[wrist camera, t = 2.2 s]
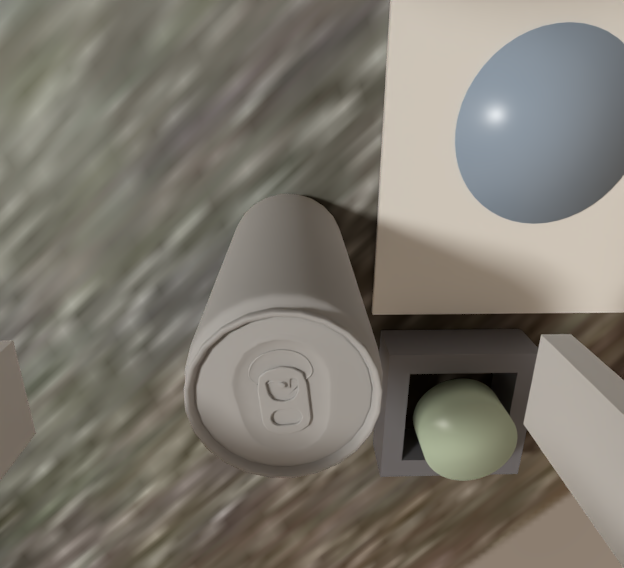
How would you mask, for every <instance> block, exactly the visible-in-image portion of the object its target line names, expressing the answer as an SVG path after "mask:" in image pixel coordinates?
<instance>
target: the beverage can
mask: <svg viewBox="0 0 624 568" xmlns="http://www.w3.org/2000/svg"><path fill="white" fill-rule="evenodd" d="M382 376H383V371H382V366H381V361H380V356H379V351H378V347H377V344H376V341H375V338H374V334H373V331H372V328H371V325H370V322H369V319H368V316H367V313H366V310H365V306H364V303H363V300H362V297H361V294H360V291H359V288H358V285H357V282H356V278H355V275H354V272H353V269H352V266H351V263H350V260H349V257H348V254H347V250H346V247H345V244H344V241H343V238H342V235H341V232H340V229H339V227H338V225H337V223H336V221H335V219H334V217H333V216H332V215H331V214H330V213H329V211H328V210H327V209H326V208H325V207H324V206H323V205H321V204H319V203H318V202H316V201H314V200H313V199H311V198H308V197H305V196H301V195H298V194H278V195H274V196H270V197H267V198H265V199H263V200H261V201H259V202H258V203H256V204H254V205H253V206H252V207H251V208H250V209H249V210H248V211H247V212H246V213H245V214H244V216H243V217H242V219H241V221H240V222H239V224H238V226H237V228H236V231H235V233H234V236H233V239H232V241H231V244H230V246H229V249H228V251H227V254H226V256H225V259H224V262H223V264H222V267H221V269H220V272H219V274H218V277H217V279H216V282H215V285H214V287H213V290H212V292H211V295H210V297H209V300H208V302H207V305H206V308H205V310H204V313H203V315H202V318H201V320H200V323H199V325H198V328H197V331H196V333H195V336H194V338H193V341H192V343H191V346H190V350H189V355H188V359H187V363H186V367H185V385H184V399H185V411H186V414H187V416H188V419H189V421H190V424H191V426H192V429H193V431H194V433H195V434H196V435H197V436H198V438H199V439H200V440H201V442H202V443H203V444H204V445H205V447H206V448H207V449H208V450H209V451H210V452H212V453H213V454H214V455H216V456H217V457H218V458H220V459H221V460H222V461H224V462H225V463H227V464H229V465H231V466H233V467H236V468H238V469H240V470H242V471H245V472H247V473H251V474H256V475H261V476H266V477H270V478H295V477H300V476H305V475H310V474H314V473H319V472H321V471H323V470H325V469H328V468H330V467H332V466H335V465H337V464H339V463H341V462H342V461H343V460H345V459H346V458H347V457H349V456H350V455H351V454H353V453H354V452H355V451H357V450H358V449H359V447H360V446H361V445H362V444H363V443H364V441H365V440H366V439H367V438H368V436H369V435H370V434H371V433H372V431H373V428H374V426H375V424H376V421H377V419H378V417H379V414H380V411H381V401H382V392H383V389H382Z"/></svg>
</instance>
